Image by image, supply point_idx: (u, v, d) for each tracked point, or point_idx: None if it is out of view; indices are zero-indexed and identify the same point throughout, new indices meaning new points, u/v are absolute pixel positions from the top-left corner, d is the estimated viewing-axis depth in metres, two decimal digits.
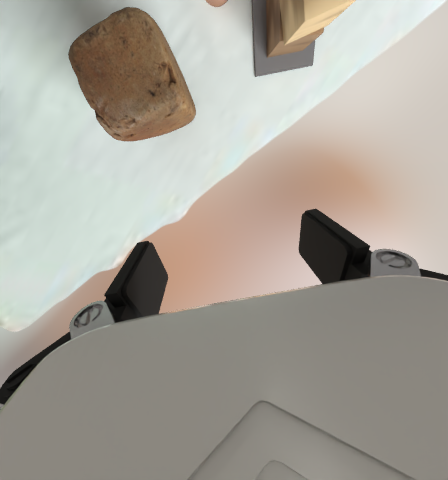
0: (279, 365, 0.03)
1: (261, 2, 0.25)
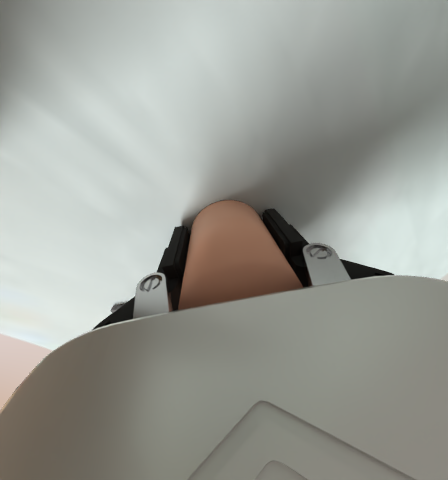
0: (279, 365, 0.03)
1: None
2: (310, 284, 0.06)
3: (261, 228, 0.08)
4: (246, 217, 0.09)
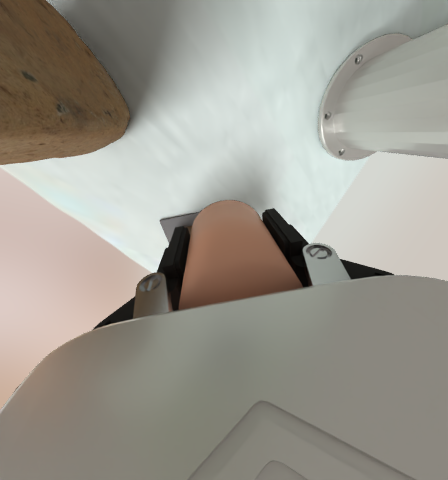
0: (279, 365, 0.03)
1: None
2: (310, 284, 0.06)
3: (261, 228, 0.08)
4: (246, 217, 0.09)
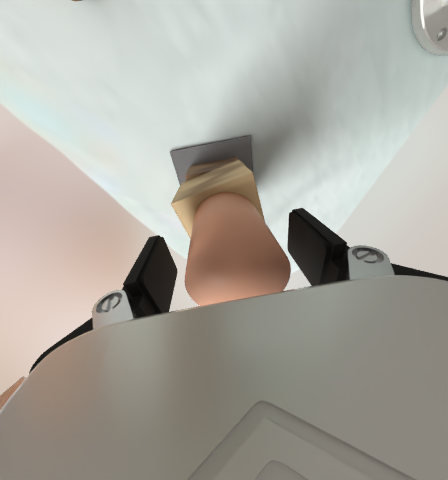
0: (279, 365, 0.03)
1: (234, 151, 0.21)
2: None
3: (255, 214, 0.09)
4: (242, 205, 0.10)
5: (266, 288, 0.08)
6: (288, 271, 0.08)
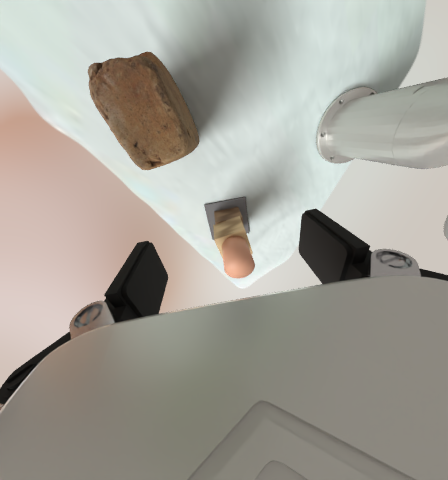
0: (279, 365, 0.03)
1: (237, 204, 0.41)
2: None
3: (245, 246, 0.29)
4: (240, 242, 0.29)
5: (248, 269, 0.28)
6: (254, 264, 0.28)
